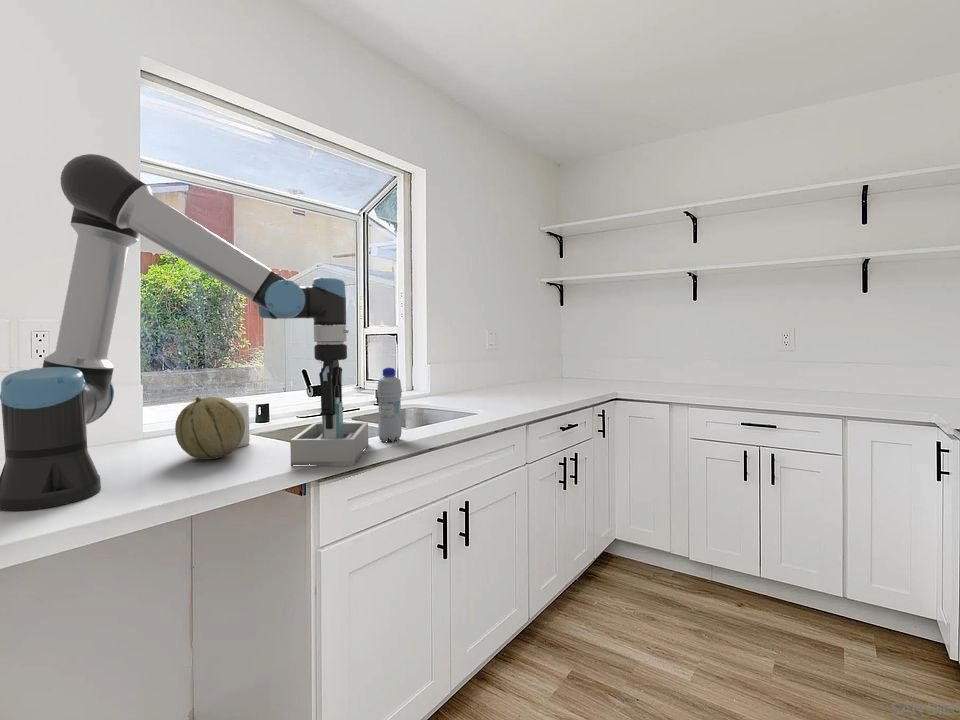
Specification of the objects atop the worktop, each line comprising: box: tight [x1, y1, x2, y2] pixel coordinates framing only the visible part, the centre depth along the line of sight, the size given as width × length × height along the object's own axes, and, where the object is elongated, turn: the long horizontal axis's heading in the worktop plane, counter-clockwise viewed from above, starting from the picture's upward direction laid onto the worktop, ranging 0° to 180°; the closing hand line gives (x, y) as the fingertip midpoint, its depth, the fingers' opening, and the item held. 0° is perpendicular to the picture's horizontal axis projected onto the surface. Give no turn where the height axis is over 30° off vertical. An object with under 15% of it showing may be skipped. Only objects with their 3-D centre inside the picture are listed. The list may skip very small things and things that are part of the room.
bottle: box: [376, 367, 403, 442], centre depth 143 cm, size 7×7×20 cm
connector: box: [321, 397, 344, 439], centre depth 127 cm, size 4×4×11 cm
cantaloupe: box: [174, 396, 245, 460], centre depth 124 cm, size 15×15×15 cm
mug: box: [231, 402, 251, 449], centre depth 136 cm, size 9×12×11 cm
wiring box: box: [289, 422, 369, 467], centre depth 127 cm, size 20×14×6 cm
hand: (332, 439), depth 127 cm, fingers closed on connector, 4 cm apart
